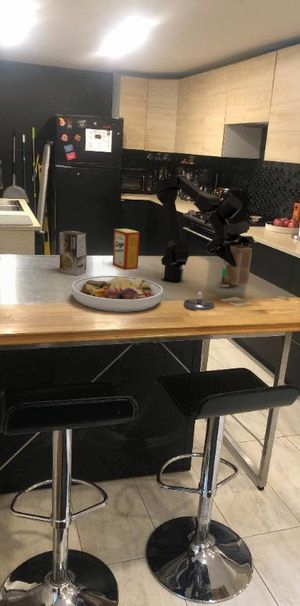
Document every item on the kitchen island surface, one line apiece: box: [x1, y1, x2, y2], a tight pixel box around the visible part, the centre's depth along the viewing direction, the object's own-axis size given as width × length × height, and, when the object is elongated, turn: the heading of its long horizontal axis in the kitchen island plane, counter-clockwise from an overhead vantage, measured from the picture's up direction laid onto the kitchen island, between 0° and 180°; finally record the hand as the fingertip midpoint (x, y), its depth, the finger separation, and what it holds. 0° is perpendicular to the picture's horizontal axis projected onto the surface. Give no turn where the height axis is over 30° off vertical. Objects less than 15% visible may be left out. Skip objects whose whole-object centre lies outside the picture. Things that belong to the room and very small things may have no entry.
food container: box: [220, 260, 236, 289], centre depth 190 cm, size 12×6×10 cm, turn 168°
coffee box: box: [59, 230, 88, 276], centre depth 195 cm, size 9×6×16 cm
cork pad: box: [220, 296, 253, 307], centre depth 170 cm, size 8×8×1 cm
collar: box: [225, 245, 253, 286], centre depth 167 cm, size 6×6×12 cm
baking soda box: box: [112, 228, 141, 271], centre depth 210 cm, size 10×6×16 cm
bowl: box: [71, 275, 164, 313], centre depth 163 cm, size 30×30×8 cm
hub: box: [183, 291, 215, 312], centre depth 162 cm, size 10×10×5 cm
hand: (241, 265), depth 166 cm, fingers closed on collar, 6 cm apart
